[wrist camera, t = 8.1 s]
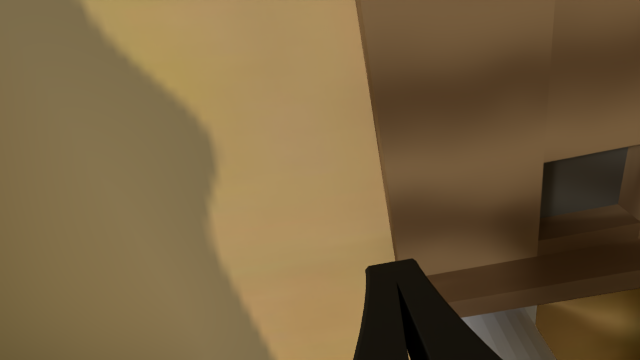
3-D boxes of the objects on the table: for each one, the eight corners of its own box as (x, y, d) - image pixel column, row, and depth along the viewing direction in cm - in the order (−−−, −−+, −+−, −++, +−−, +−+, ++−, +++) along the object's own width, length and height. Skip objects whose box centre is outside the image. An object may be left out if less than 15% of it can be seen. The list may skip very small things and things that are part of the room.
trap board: (759, 206, 22) (845, 253, 18) (397, 271, 23) (412, 325, 20) (974, -346, 12) (1247, -472, 9) (328, -174, 14) (336, -221, 10)
